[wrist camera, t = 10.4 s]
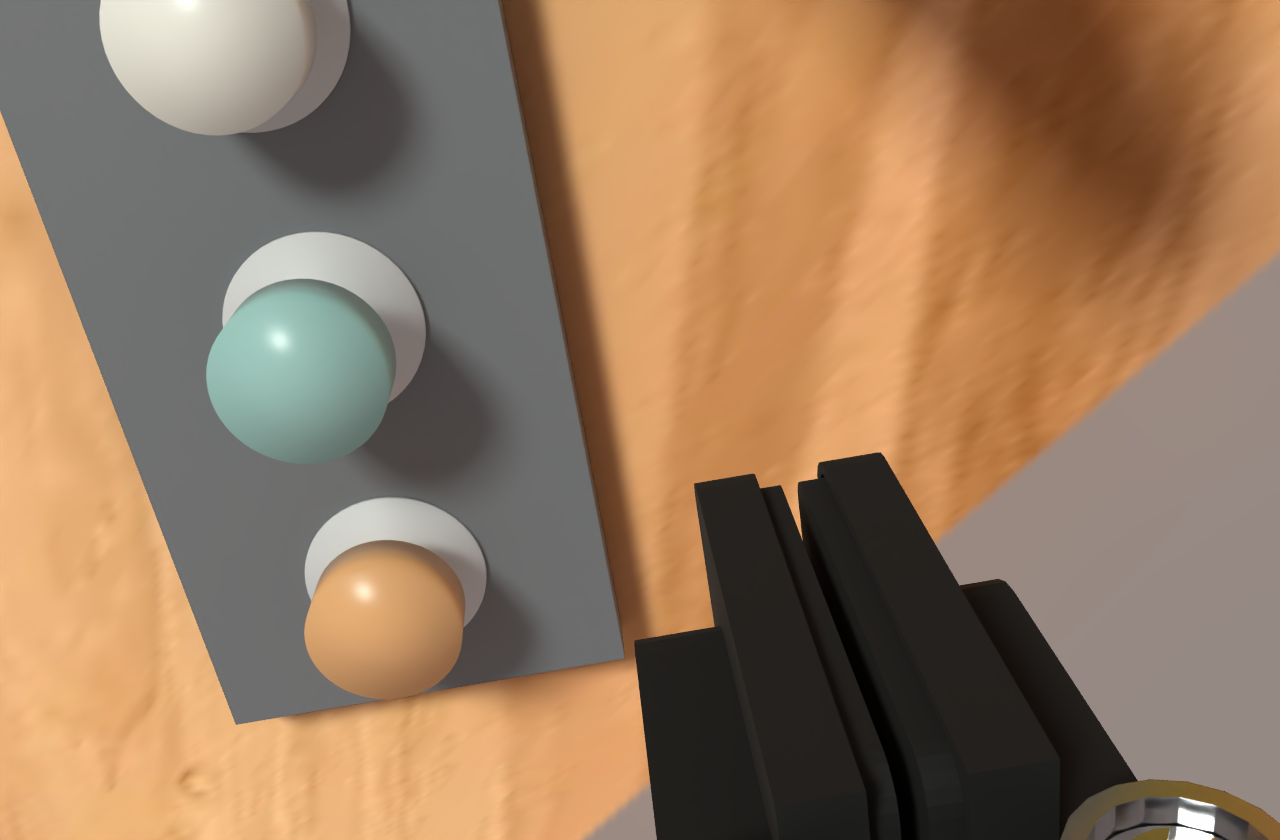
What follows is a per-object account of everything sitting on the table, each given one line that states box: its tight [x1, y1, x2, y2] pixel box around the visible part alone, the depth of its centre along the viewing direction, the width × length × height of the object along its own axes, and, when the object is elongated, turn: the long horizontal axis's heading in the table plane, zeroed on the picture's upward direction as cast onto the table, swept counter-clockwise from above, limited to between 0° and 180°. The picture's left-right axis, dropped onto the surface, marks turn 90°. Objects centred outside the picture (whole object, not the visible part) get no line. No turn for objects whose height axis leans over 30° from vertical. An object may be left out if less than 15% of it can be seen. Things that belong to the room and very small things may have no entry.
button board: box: [0, 0, 625, 725], centre depth 36 cm, size 14×28×2 cm, turn 8°
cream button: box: [99, 0, 317, 136], centre depth 30 cm, size 5×5×3 cm
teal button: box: [206, 279, 396, 464], centre depth 33 cm, size 5×5×3 cm
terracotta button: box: [304, 540, 466, 699], centre depth 37 cm, size 5×5×3 cm
